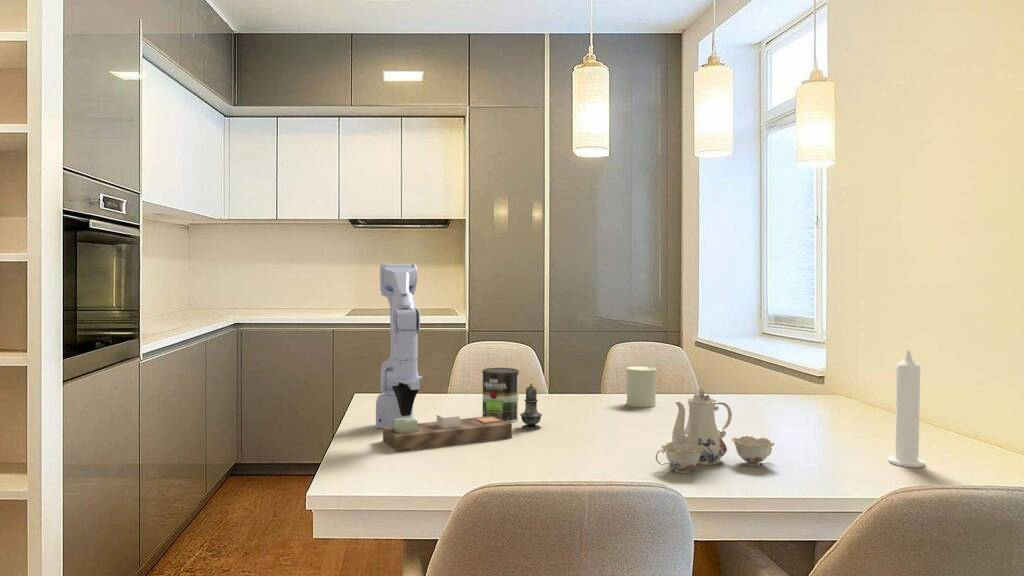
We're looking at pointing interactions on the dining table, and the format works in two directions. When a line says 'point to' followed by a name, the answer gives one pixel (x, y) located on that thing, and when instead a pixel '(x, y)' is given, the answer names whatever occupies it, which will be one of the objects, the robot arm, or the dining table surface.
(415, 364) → the robot arm
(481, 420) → the terracotta key
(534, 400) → the salt shaker
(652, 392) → the can
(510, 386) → the coffee can
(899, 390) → the candle
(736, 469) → the dining table surface
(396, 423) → the sage key
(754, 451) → the chinaware
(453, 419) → the offwhite key
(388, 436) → the brown long flat block
